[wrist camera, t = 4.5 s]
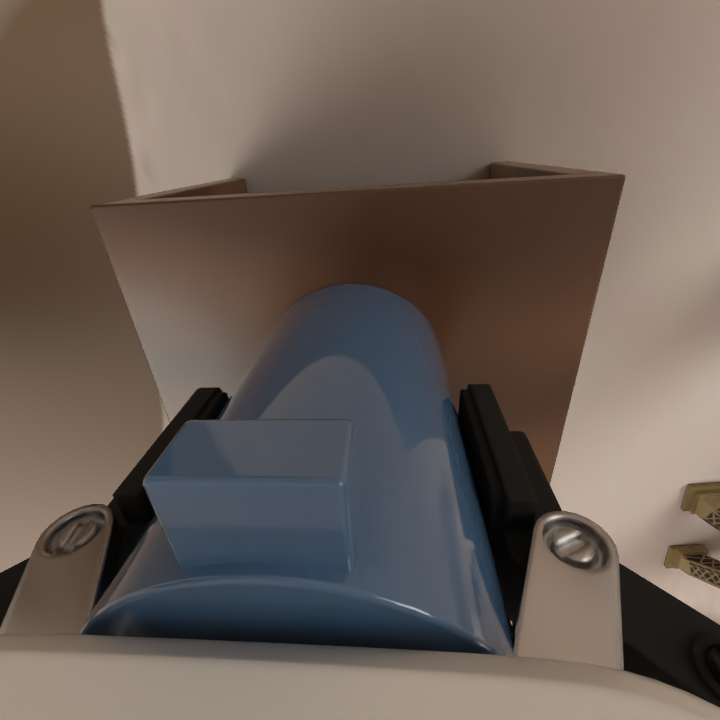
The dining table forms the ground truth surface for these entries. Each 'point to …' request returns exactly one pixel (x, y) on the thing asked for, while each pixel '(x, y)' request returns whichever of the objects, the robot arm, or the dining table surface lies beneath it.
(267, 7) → the dining table surface
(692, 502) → the eiffel tower
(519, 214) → the shelf stand
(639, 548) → the dining table surface
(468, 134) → the dining table surface
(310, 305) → the jug
